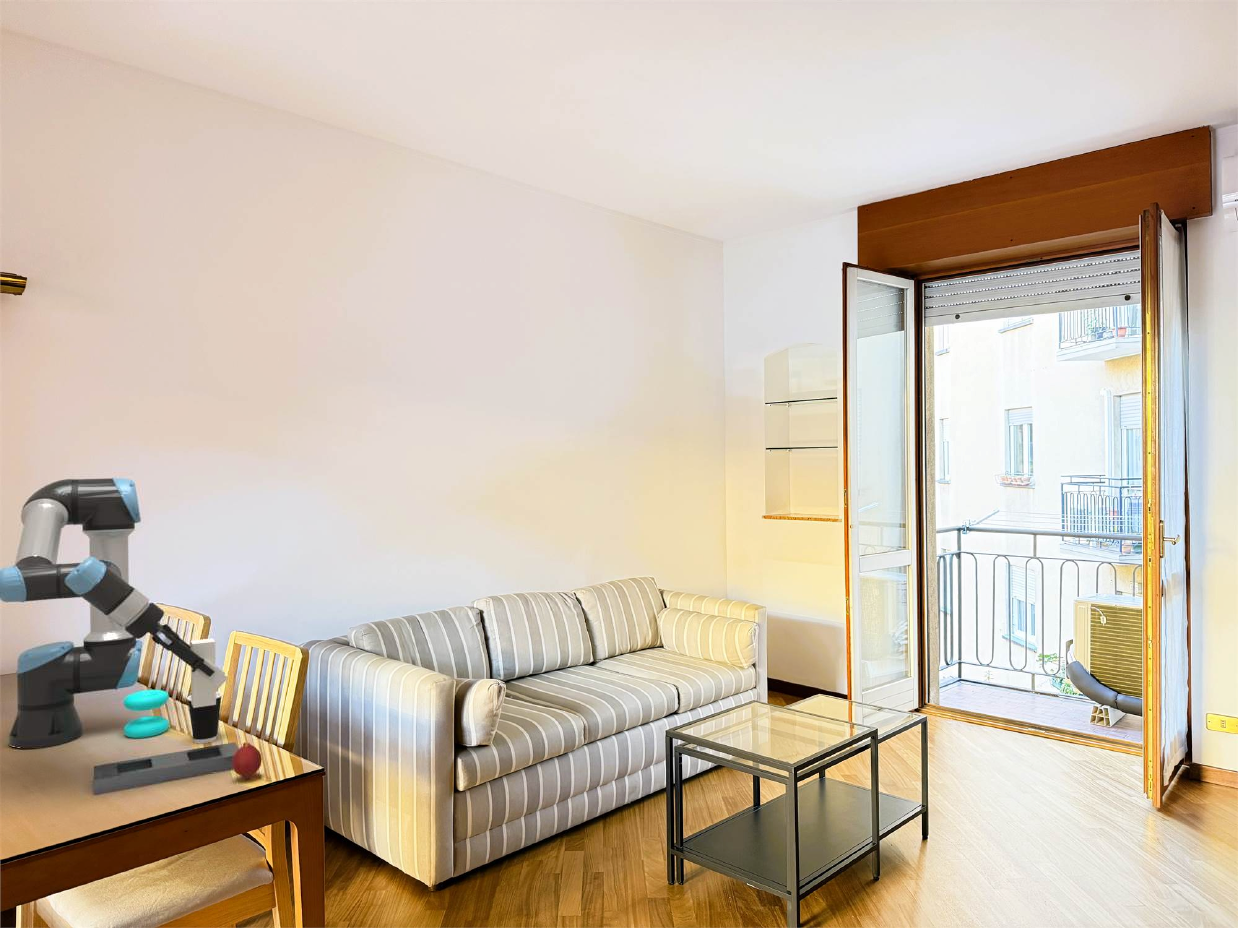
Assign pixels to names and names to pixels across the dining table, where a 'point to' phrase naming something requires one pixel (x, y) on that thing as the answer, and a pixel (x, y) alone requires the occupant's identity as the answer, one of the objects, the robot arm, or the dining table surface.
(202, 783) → the dining table surface
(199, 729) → the dixie cup
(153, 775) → the gray slotted board
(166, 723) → the donuts
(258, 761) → the onion
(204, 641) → the peg
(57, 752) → the dining table surface
